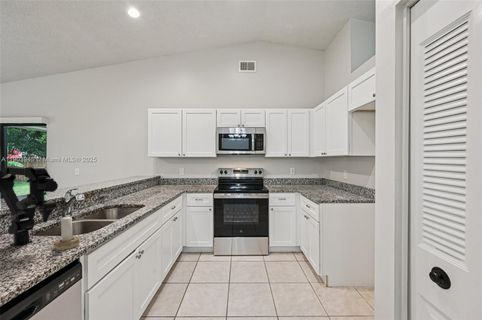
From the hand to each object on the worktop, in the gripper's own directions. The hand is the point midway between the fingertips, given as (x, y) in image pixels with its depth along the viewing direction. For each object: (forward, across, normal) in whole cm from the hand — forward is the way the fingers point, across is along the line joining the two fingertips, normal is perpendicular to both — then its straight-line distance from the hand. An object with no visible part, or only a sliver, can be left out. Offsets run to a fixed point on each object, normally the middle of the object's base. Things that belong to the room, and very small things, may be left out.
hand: (38, 221), depth 124 cm
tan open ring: (+12, +15, +3) cm, 19 cm away
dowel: (+12, +15, +3) cm, 19 cm away
